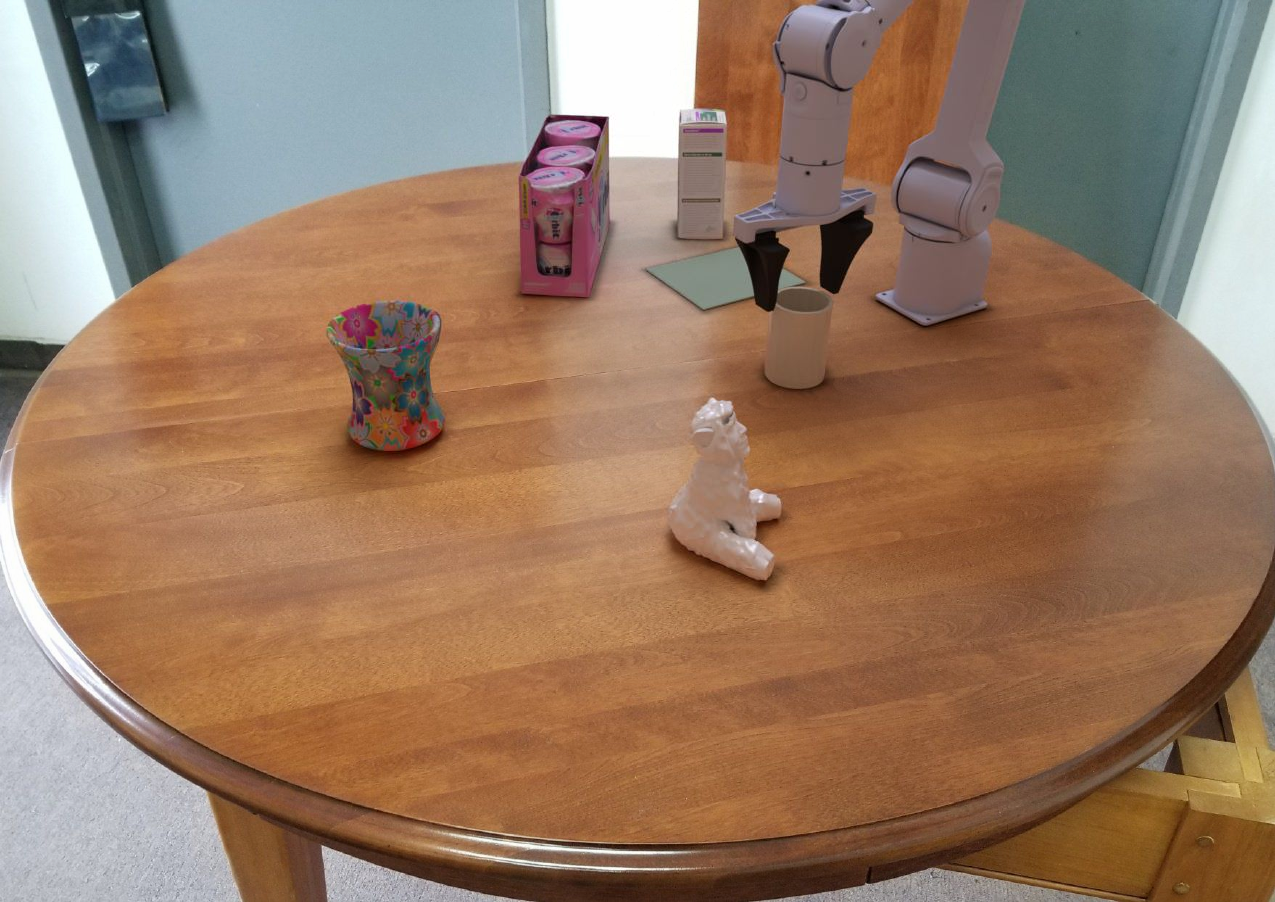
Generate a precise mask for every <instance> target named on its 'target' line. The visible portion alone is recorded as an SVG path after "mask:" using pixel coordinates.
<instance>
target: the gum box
mask: <svg viewBox="0 0 1275 902" xmlns="http://www.w3.org/2000/svg"><path fill="white" fill-rule="evenodd" d="M518 206H519V207H518V209H519V210H518V211H519V254H520V255H519V258H520V261H519V262H520V290H521V291H520V293H521V294H522V295H523V294H525V295H526V294H527V295H541V296H553V297H554V296H556V297H557V296H558V297H577V298H589V297H590V295H591V291H592V286H593V283H594V281H595V278H596V273H597V269H598V267H599V265H600V260H601V256H602V253H603V249H604V245H605V242H606V239H607V235H608V232H609V227H610V224H611V218H610V217H611V216H610V211H611V210H610V209H611V208H610V116H608V115H607V116H606V115H605V116H604V115H583V114H582V115H580V114H555V113H554V114H552V113H551V114H547V116H546V117H545V119H544V121H543V123H542V125H541V127H540V129H539V132H538V135H537V137H536V138H535V140H534V142H533V144H532V147H531V149H530V151H529V153H528V155H527V157H526V158H525V160H524V162H523V163H522V166H521V167H520V170H519V173H518Z"/></svg>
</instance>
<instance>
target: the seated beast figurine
mask: <svg viewBox="0 0 1275 902" xmlns="http://www.w3.org/2000/svg"><path fill="white" fill-rule="evenodd" d="M734 408H735V407H734V406H733V401H732V400H725V399H724V400H723V399H721V400H717V399H716V398H715V397H710V398H709V399H708V401H707V403H706V404H704V405H702V406H701V408H700V410H698V411H695V412H694V413H693V415H694V416H693V418H692V419H691V422H690V424H689V426H688V431H689V433H690V436H689V437H690V438H689V440H690V442H691V445H692V446H693V448H694V449H695V450H696V452H697V454H698V455H699V456H700V457H698V458H696V461H695V463H694V464H693V469H692V470H691V471H690V473H689V474H690V475H689V477H688V479H687V482H686V483H685V484H683V485H682V486H681V487H680V488H679V491H678V492H677V493H676V495H675V496H674V498H673V500H672V501H671V502H670V504H669V505H668V506H667V513H668V516H667V523H668V524H667V525H668V527H669V528H670V529H671V532H672V533H673V535H674V537H675V539H676V540H677V541H678V542H679V543H680V544H681V545H683V546H684V547H685V548H686V549H687V551H691V552H694V553H695V555H697V556H702V557H703V558H707V559H709V560H710V561H711V562H715V563H717V564H720V565H723V566H725V567H726V568H729V569H732V570H733V571H736V572H738V573H740V574H742V575H744V576H747V577H749V578H751V579H752V580H753V579H754V580H756V581H760V580H761V581H767V580H768V578H770V577H771V574H772V572H773V570H774V568H775V563H776V556H775V554H773V552H771V550H769V549H768V548H767V547H765V545H764V544H761V542H759V541H757V540H756V538H757V525H758V524H757V523H760V522H765V521H772V520H776V519H779V518H780V517H781V514H782V501H781V499H780V498H779V497H778V494H773V493H767V492H765V491H762V490H761V489H760V488H754V489H752V490H751V489H750V487H749V485H748V483H749V477H748V475H747V472H746V471H745V458H747V457H749V455H750V451H751V448H750V446H749V441H748V436H747V434H746V433H747V432H748V428H747V427H746V426H745V425H743V424H742V423H740V422H739V421H738V418H737V416H736V412H735V410H734Z"/></svg>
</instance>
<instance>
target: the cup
mask: <svg viewBox="0 0 1275 902" xmlns="http://www.w3.org/2000/svg"><path fill="white" fill-rule="evenodd" d="M834 303H835V301H834V299H833V298H832V296H831V295H830V294H828V293H826V292H825V291H823V290H821V289H817V288H813V287H809V286H808V287H807V286H794V287H787V288H783V289H779V290H778V295H777V302H776V306H775V309H774V311H771V312H768V321H767V332H766V333H767V334H766V344H765V345H766V346H765V357H764V365H763V367H764V375H765V377H766V379H767V380H768V381H769V382H771V383H772V384H775V385H776V386H779V387H782V388H786V389H792V390H803V389H810V388H813V387H816V386H818V385H820V384H821V383H822V382H823V381H824V379H825V372H826V367H827V359H828V351H829V343H830V335H831V326H832V319H833V318H832V317H833V311H834Z"/></svg>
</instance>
